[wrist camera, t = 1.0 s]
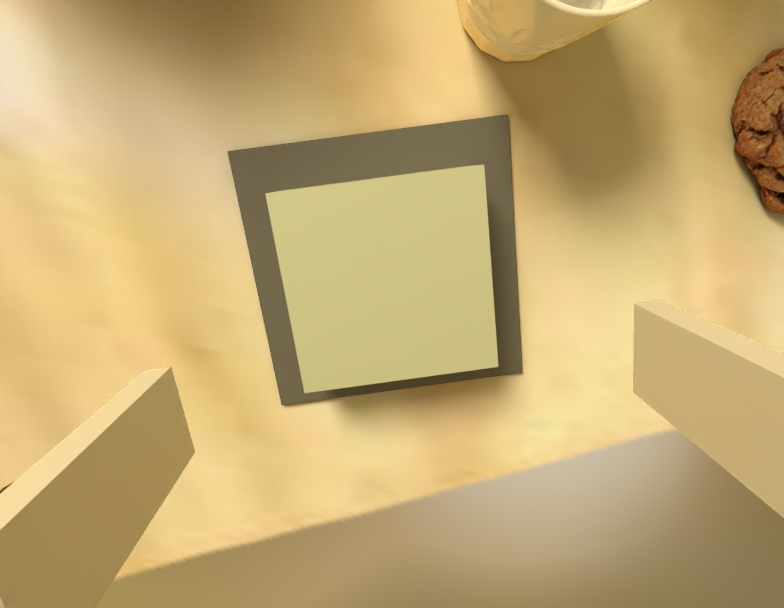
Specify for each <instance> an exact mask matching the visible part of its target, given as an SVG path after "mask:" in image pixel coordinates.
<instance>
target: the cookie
mask: <svg viewBox="0 0 784 608" xmlns="http://www.w3.org/2000/svg"><path fill="white" fill-rule="evenodd" d="M735 101H736V104H735V105H734V106H733V108H732V112H733V113H732V117H731V120H732V122H733V126H734V132H735V134H736V137H737V138H738V141H737V142H735V149H736V151H737V153H738V154H740V155H742V156H744V159H743V162H744V163H745V164H747V167H748V168H750V169H751V171H752V174H754V175H755V177H756V179H757V181H758V182H759V185H761V187H762V189H761V199H762V201H763V202H764V203H765V206H766V207H767V208H768V209H769V210H771V211H775V212H781V213H784V48H782V49H778V50H774V51H772V52H771V53H770V54H769V55H767V56H766V58H765V61H763V62H762V63H761V64H760V65H759V66H758V67H755V68H754V69H752V70H751V71H750V72H749V73H748V74H747V77H746V79H745V80H744V83H743V84H742V86H741V88H740V90H739V92H738V95H737V97H736V100H735Z"/></svg>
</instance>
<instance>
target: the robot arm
mask: <svg viewBox="0 0 784 608" xmlns="http://www.w3.org/2000/svg"><path fill="white" fill-rule="evenodd" d="M633 392H634V393H635V394H636V395H637V396H638V397H640V398H641V399H642V400H643V401H644V402H646V403H647V404H648V405H649V406H650V407H652V408H653V409H654V410H655V411H656V412H658V413H659V414H660V415H661V416H662V417H664V418H665V419H666V420H667V421H668V422H669V423H671V424H672V425H673V426H674V427H675V428H677V429H678V430H679V431H680V432H681V433H683V434H684V435H685V436H686V437H687V438H689V439H690V440H691V441H692V442H693V443H695V444H696V445H697V446H698V447H699V448H701V449H702V450H703V451H704V452H705V453H707V454H708V455H709V456H710V457H711V458H713V459H714V460H715V461H716V462H717V463H719V464H720V465H721V466H722V467H723V468H724V469H726V470H727V471H728V472H729V473H730V474H732V475H733V476H734V477H735V478H736V479H738V480H739V481H740V482H741V483H742V484H744V485H745V486H746V487H747V488H748V489H750V490H751V491H752V492H753V493H754V494H756V495H757V496H758V497H759V498H760V499H762V500H763V501H764V502H765V503H766V504H767V505H769V506H770V507H771V508H772V509H774V510H775V511H776V512H777V513H778V514H779V515H781V516H782V517H783V518H784V353H782V352H779V351H777V350H775V349H773V348H770V347H768V346H766V345H763V344H761V343H759V342H756V341H754V340H752V339H750V338H747V337H745V336H743V335H740V334H738V333H736V332H734V331H731V330H729V329H727V328H724V327H722V326H720V325H717V324H715V323H713V322H711V321H708V320H706V319H704V318H701V317H699V316H697V315H695V314H692V313H690V312H688V311H685V310H683V309H681V308H678V307H676V306H674V305H672V304H669V303H667V302H665V301H662V300H657V301H650V302H643V303H635V304H634V369H633ZM194 453H195V450H194V447H193V443H192V440H191V436H190V432H189V429H188V425H187V422H186V418H185V414H184V411H183V407H182V404H181V400H180V397H179V393H178V389H177V386H176V382H175V379H174V375H173V372H172V368H171V367H165V368H158V369H151V370H144V371H143V372H142V373H140V374H139V375H138V376H137V377H136V378H135V379H133V380H132V381H131V382H130V383H129V384H128V385H126V386H125V387H124V388H123V389H122V390H121V391H119V392H118V393H117V394H116V395H115V396H114V397H112V398H111V399H110V400H109V401H108V402H107V403H105V404H104V405H103V406H102V407H101V408H100V409H98V410H97V411H96V412H95V413H94V414H93V415H91V416H90V417H89V418H88V419H87V420H86V421H84V422H83V423H82V424H81V425H80V426H79V427H77V428H76V429H75V430H74V431H73V432H72V433H70V434H69V435H68V436H67V437H66V438H65V439H63V440H62V441H61V442H60V443H59V444H58V445H57V446H55V447H54V448H53V449H52V450H51V451H50V452H48V453H47V454H46V455H45V456H44V457H43V458H41V459H40V460H39V461H38V462H37V463H36V464H34V465H33V466H32V467H31V468H30V469H29V470H27V471H26V472H25V473H24V474H23V475H22V476H20V477H19V478H18V479H17V480H16V481H14V482H13V483H11V484H9V485H8V486H6V487H4V488H3V489H2V490H1V491H0V608H96V606H97V604H98V603H99V602H100V600H101V598H102V597H103V595H104V594H105V592H106V591H107V589H108V587H109V586H110V584H111V583H112V581H113V580H114V578H115V576H116V575H117V573H118V572H119V570H120V569H121V567H122V566H123V564H124V562H125V561H126V559H127V558H128V556H129V555H130V553H131V551H132V550H133V548H134V547H135V545H136V544H137V542H138V541H139V539H140V537H141V536H142V534H143V533H144V531H145V530H146V528H147V526H148V525H149V523H150V522H151V520H152V519H153V517H154V516H155V514H156V512H157V511H158V509H159V508H160V506H161V505H162V503H163V501H164V500H165V498H166V497H167V495H168V494H169V492H170V490H171V489H172V487H173V486H174V484H175V483H176V481H177V480H178V478H179V476H180V475H181V473H182V472H183V470H184V469H185V467H186V465H187V464H188V462H189V461H190V459H191V458H192V456H193V455H194Z"/></svg>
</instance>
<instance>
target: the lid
mask: <svg viewBox="0 0 784 608" xmlns="http://www.w3.org/2000/svg"><path fill="white" fill-rule="evenodd" d="M265 195H266V200H267V205H268V210H269V215H270V220H271V225H272V231H273V236H274V241H275V246H276V251H277V256H278V261H279V266H280V271H281V276H282V281H283V286H284V292H285V297H286V302H287V307H288V312H289V317H290V322H291V327H292V332H293V337H294V342H295V348H296V353H297V358H298V363H299V368H300V373H301V378H302V383H303V388H304V393H310V392H318V391H325V390H332V389H340V388H347V387H354V386H362V385H369V384H376V383H384V382H391V381H398V380H406V379H413V378H420V377H428V376H435V375H442V374H450V373H457V372H464V371H472V370H479V369H486V368H494V367H498V353H497V339H496V325H495V310H494V296H493V282H492V268H491V254H490V240H489V225H488V211H487V197H486V183H485V169H484V165H472V166H463V167H456V168H448V169H441V170H433V171H426V172H418V173H411V174H403V175H395V176H388V177H380V178H373V179H365V180H358V181H350V182H343V183H335V184H328V185H320V186H313V187H305V188H297V189H290V190H282V191H276V192H271V193H266V194H265Z"/></svg>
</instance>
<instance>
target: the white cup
mask: <svg viewBox="0 0 784 608" xmlns="http://www.w3.org/2000/svg"><path fill="white" fill-rule="evenodd" d="M457 1H458V6H459V11H460V15H461V20H462V24H463V27H464V29H465V30H466V31H467V33H468V34H469V35H470V37H471V38H472V39H473V41H474V42H475V43H476V45H477V46H478V47H479V49H480V50H482V51H484V52H486V53H488V54H490V55H492V56H494V57H496V58H498V59H500V60H502V61H504V62H508V61H527V60H533V59H535V58H537V57H539V56H540V55H542V54H544V53H546V52H549V51H552V50H556V49H559V48H561V47H563V46H565V45H567V44H570V43H572V42H574V41H576V40H579V39H580V38H582V37H584V36H586V35H588V34H590V33H592V32H594V31H596V30H598V29H599V28H601V27H603V26H605V25H607V24H609V23H611V22H613V21H615V20H616V19H618V18H620V17H622V16H624V15H626V14H628V13H630V12H632V11H634V10H636V9H638V8H640V7H642V6H644V5H645V4H647V3H649V2H651V1H652V0H457Z"/></svg>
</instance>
